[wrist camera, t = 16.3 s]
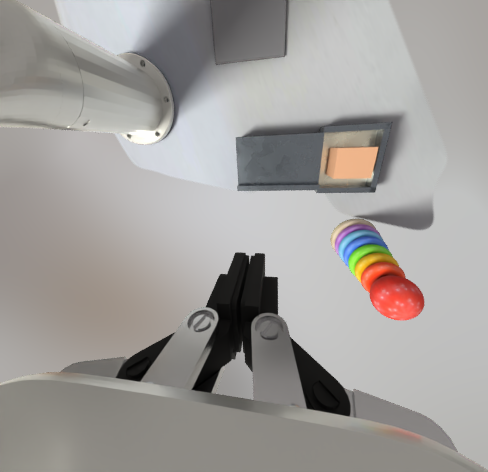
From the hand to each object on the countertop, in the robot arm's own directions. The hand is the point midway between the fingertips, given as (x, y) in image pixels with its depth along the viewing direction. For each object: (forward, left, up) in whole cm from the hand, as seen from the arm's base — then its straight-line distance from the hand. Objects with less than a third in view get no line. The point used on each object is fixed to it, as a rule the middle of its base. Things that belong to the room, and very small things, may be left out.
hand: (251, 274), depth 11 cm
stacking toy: (+16, -10, -27) cm, 33 cm away
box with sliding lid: (+6, +4, -27) cm, 28 cm away
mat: (-3, +22, -27) cm, 35 cm away
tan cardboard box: (+9, +4, -24) cm, 26 cm away
